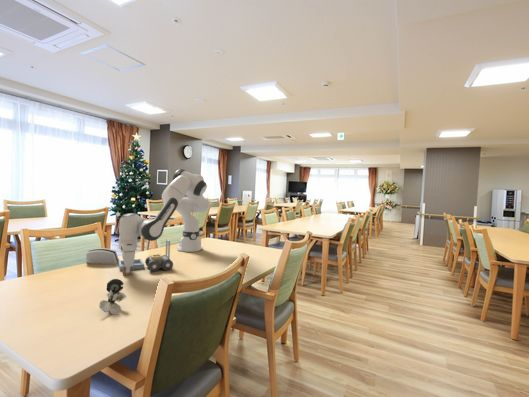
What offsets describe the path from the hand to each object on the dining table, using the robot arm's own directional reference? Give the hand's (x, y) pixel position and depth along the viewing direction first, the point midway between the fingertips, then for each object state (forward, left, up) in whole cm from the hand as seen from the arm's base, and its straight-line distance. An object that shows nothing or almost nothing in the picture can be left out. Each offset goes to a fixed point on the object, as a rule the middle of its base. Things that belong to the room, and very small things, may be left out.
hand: (127, 270), depth 142 cm
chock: (0, 0, -2) cm, 2 cm away
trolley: (-3, +16, -2) cm, 17 cm away
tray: (-12, +3, -2) cm, 12 cm away
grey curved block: (-26, -11, -2) cm, 28 cm away
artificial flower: (+36, -8, -2) cm, 37 cm away
